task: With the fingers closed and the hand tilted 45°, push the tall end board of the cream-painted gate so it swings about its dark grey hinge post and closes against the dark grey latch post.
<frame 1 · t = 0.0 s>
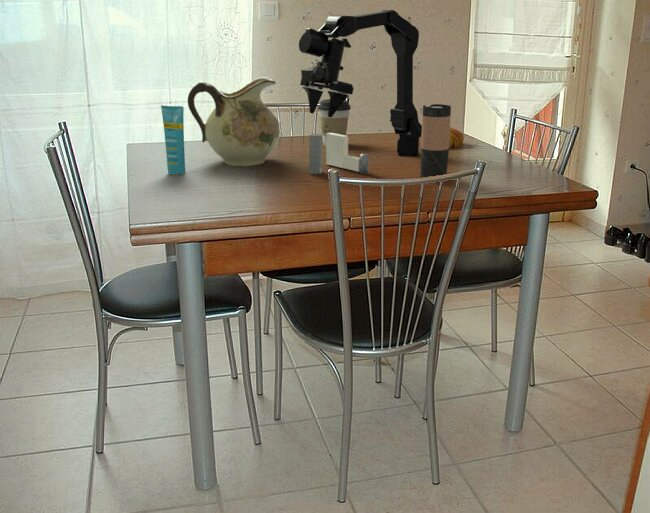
hand: (320, 115, 210), 15 cm above the table, tool pointing down, fingers open, 9 cm apart
tube: (176, 174, 208), on the table
pitcher: (242, 163, 222), on the table
travel mug: (433, 179, 201), on the table
coffee cup: (334, 145, 249), on the table
latch post: (315, 173, 208), on the table
hinge post: (364, 173, 208), on the table
gate: (344, 151, 212), point 5 cm above the table, hinge at 0.0°
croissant: (442, 146, 249), on the table
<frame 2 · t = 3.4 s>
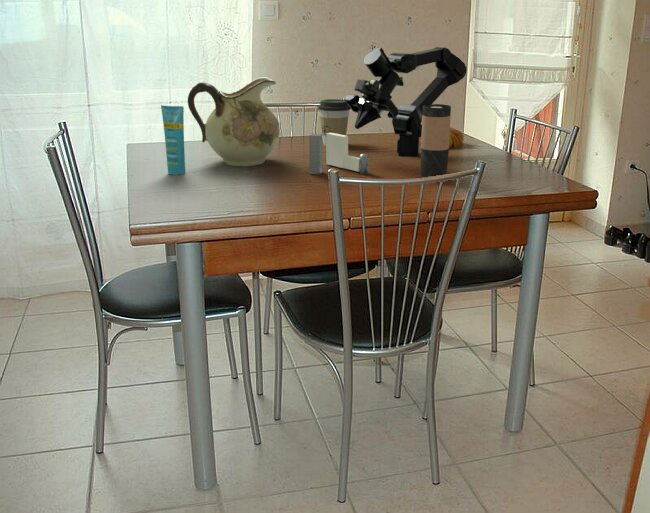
hand: (356, 127, 216), 11 cm above the table, tool tilted 45°, fingers closed
nothing on the table moved.
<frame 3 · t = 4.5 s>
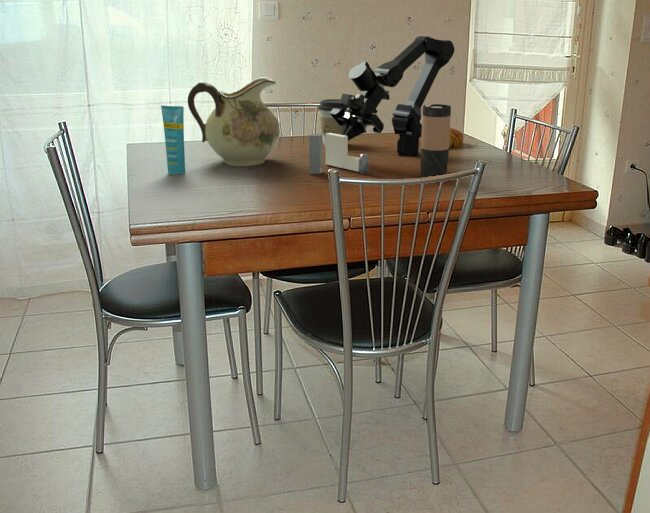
hand: (341, 142, 214), 7 cm above the table, tool tilted 45°, fingers closed, pressing on gate
gate: (343, 151, 212), point 5 cm above the table, hinge at 1.3°, touching gripper
everything else where it was.
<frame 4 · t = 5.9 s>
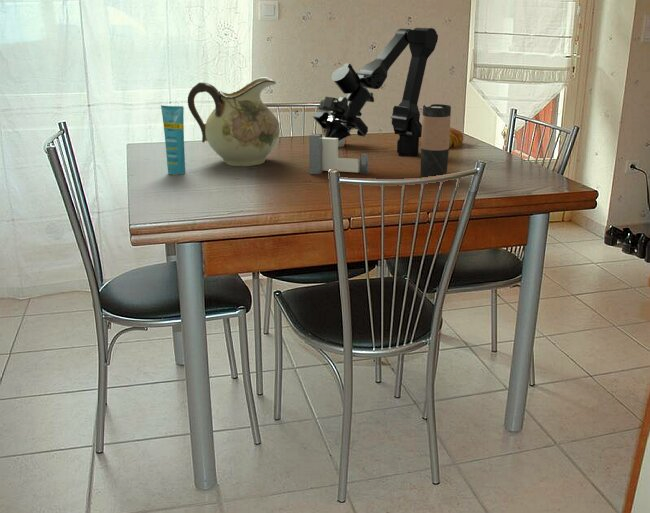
hand: (325, 146, 210), 7 cm above the table, tool tilted 45°, fingers closed
gate: (335, 154, 208), point 5 cm above the table, hinge at 33.3°, touching gripper
everything else where it was.
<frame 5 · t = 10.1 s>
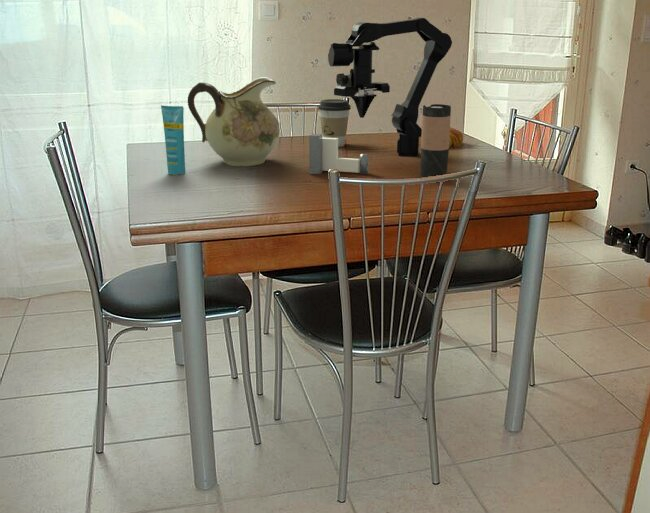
hand: (361, 117, 225), 12 cm above the table, tool pointing down, fingers closed
gate: (335, 154, 208), point 5 cm above the table, hinge at 33.5°
everything else where it was.
at the end: gate at +34° (first picture: +0°); gate touching nothing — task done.
